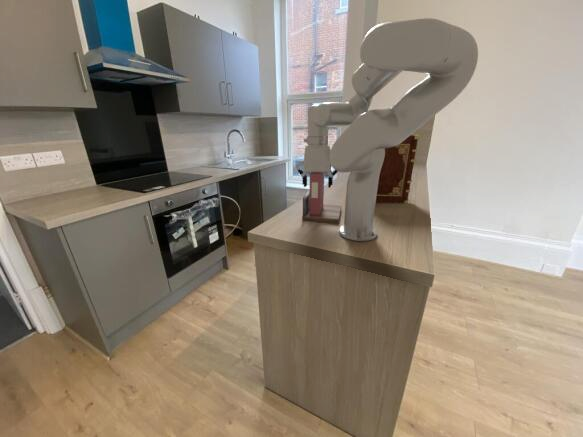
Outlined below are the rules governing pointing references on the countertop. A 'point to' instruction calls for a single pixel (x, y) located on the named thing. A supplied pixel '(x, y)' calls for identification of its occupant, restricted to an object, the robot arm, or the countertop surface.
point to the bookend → (306, 203)
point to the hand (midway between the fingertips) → (317, 186)
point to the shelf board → (325, 215)
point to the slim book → (316, 193)
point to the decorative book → (397, 172)
